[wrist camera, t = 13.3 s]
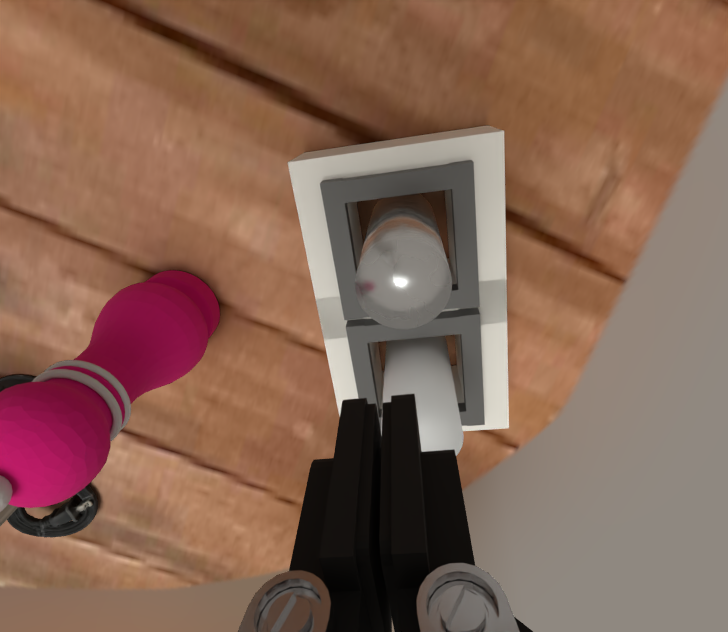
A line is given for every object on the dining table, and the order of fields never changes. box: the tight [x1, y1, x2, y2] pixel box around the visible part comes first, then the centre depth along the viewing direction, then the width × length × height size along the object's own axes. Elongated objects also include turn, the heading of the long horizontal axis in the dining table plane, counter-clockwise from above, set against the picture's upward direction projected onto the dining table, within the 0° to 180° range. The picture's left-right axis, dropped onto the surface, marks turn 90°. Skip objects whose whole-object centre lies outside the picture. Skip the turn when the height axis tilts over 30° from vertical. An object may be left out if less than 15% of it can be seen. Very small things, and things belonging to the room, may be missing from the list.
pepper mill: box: [0, 270, 220, 512], centre depth 27 cm, size 7×7×20 cm
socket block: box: [288, 125, 509, 456], centre depth 29 cm, size 20×12×12 cm, turn 8°
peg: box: [355, 193, 452, 329], centre depth 27 cm, size 4×4×12 cm
